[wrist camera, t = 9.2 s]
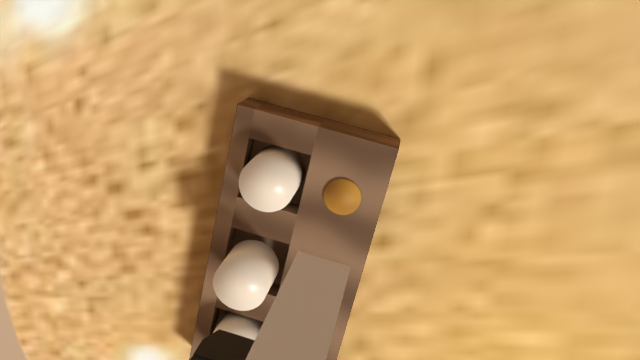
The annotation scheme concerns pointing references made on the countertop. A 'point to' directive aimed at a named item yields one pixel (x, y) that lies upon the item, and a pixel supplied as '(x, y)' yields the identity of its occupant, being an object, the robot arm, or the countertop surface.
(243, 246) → the button
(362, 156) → the board
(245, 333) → the button
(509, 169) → the countertop surface
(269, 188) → the button
